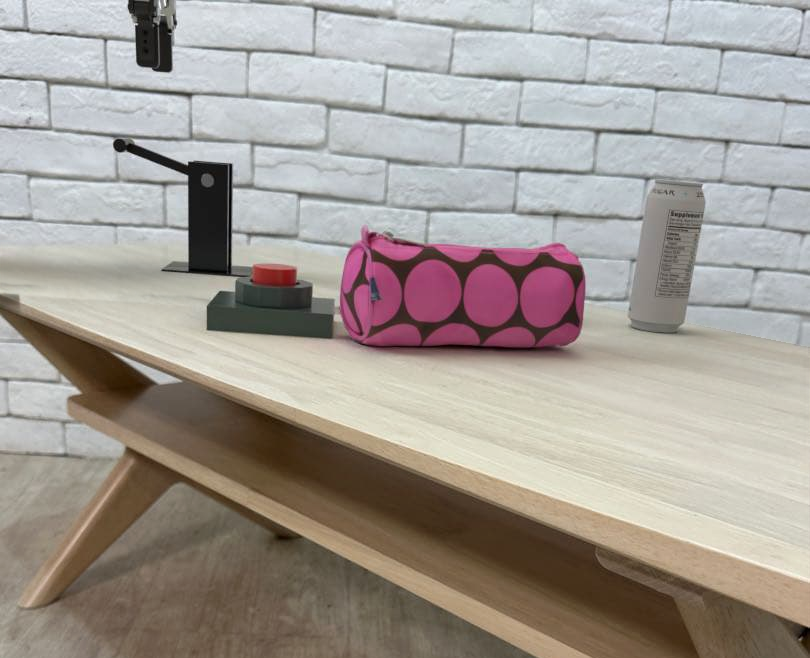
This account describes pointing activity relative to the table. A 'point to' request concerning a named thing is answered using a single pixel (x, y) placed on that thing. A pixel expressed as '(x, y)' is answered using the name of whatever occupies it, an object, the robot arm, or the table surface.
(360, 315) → the pencil case
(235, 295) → the control box
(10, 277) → the table surface
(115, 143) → the switch lever
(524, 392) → the table surface
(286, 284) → the button
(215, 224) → the switch bracket
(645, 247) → the energy drink can
